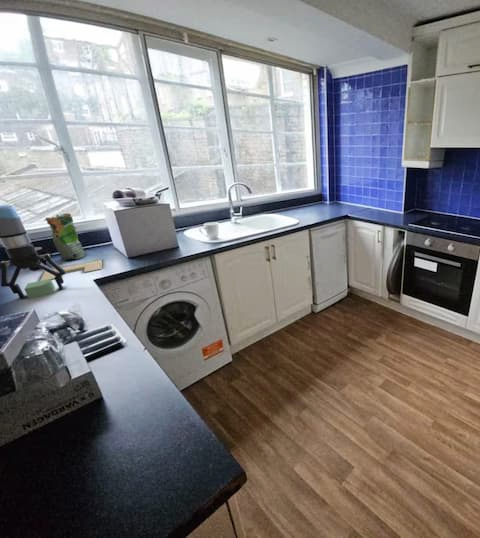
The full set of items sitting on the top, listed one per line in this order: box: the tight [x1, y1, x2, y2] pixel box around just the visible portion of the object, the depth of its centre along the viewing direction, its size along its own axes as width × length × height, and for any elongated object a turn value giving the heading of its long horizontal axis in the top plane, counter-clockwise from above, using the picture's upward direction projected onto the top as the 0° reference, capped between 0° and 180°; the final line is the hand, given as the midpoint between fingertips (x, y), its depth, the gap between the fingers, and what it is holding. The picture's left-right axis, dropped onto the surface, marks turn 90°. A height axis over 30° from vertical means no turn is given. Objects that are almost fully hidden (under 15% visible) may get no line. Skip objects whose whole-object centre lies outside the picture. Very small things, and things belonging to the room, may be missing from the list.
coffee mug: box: [28, 246, 53, 271], centre depth 151 cm, size 12×9×10 cm
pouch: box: [44, 212, 87, 261], centre depth 161 cm, size 11×12×25 cm
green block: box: [23, 279, 56, 300], centre depth 123 cm, size 7×7×6 cm
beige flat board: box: [39, 259, 103, 281], centre depth 147 cm, size 22×16×1 cm
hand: (43, 294), depth 124 cm, fingers open, 11 cm apart
